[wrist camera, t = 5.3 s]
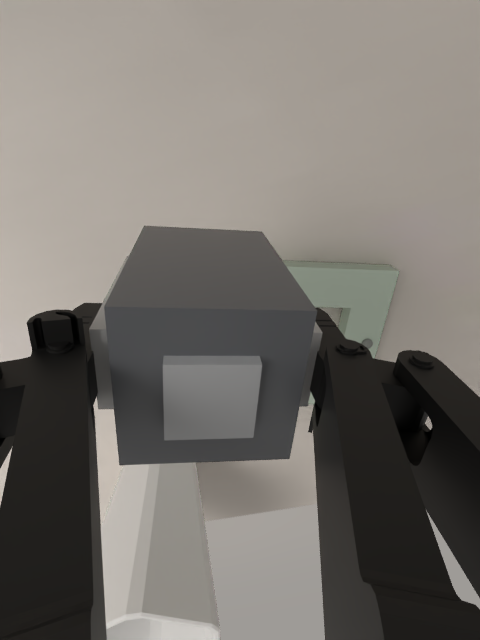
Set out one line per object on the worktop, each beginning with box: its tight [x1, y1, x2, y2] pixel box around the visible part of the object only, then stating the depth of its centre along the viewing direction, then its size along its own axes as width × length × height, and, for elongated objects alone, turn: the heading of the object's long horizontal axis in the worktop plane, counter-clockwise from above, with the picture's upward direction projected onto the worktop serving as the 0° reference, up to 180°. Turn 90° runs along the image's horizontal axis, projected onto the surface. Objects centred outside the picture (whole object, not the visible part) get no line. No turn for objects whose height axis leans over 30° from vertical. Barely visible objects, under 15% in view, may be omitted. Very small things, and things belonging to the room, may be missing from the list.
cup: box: [101, 462, 220, 640], centre depth 32 cm, size 11×10×17 cm
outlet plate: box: [282, 260, 399, 404], centre depth 34 cm, size 14×14×2 cm
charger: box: [104, 226, 317, 465], centre depth 13 cm, size 5×5×8 cm
